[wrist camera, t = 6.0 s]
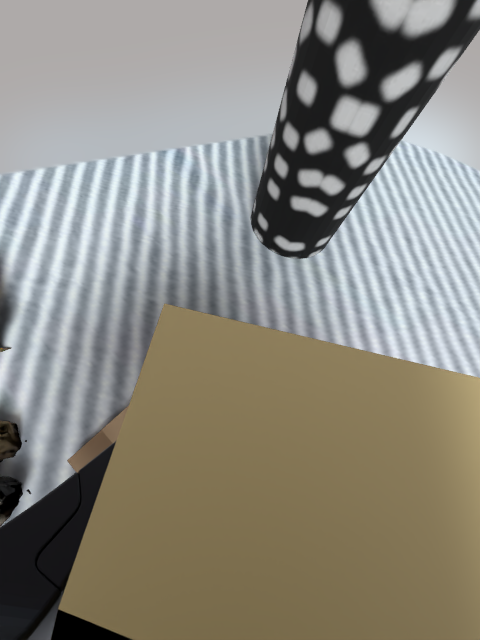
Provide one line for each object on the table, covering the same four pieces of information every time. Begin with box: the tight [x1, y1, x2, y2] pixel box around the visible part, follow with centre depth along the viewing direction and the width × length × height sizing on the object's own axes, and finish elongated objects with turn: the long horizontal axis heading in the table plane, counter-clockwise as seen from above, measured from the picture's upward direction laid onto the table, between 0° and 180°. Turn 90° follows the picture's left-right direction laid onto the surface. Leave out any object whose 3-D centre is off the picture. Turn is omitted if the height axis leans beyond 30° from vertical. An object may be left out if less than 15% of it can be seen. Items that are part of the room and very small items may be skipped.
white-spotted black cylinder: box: [251, 0, 480, 259], centre depth 18 cm, size 8×8×20 cm
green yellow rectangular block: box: [51, 304, 480, 640], centre depth 8 cm, size 4×4×13 cm
